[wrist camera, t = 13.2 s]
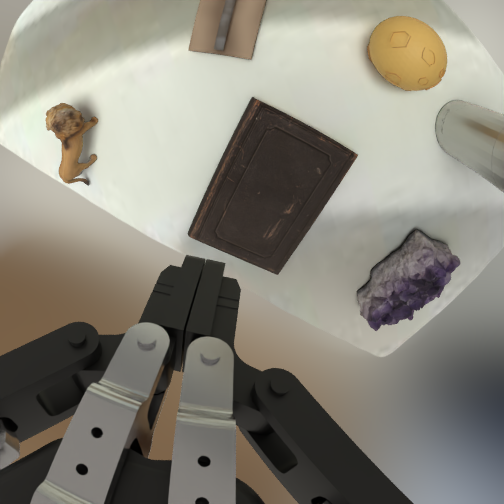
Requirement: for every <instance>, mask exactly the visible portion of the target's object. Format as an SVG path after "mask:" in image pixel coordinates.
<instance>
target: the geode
mask: <svg viewBox="0 0 504 504" xmlns="http://www.w3.org/2000/svg"><path fill="white" fill-rule="evenodd" d="M459 265H460V260H459V258H458V257H457V256H455V255H452V253H451V251H450V249H449V247H448V245H447V244H443V243H442V242H440V241H435V240H432V239H430V238H429V237H428V236H426V235H425V234H424V233H423V232H421V231H419V230H415V231H414V232H413V233H412V234H410V235H409V237H408V238H407V240H406V242H405V243H404V244H403V245H402V246H401V248H400V249H399V250H397V251H395V252H393V253H391V254H390V256H388V257H387V258H386V259H385V260H383V261H382V262H380V263H378V264H377V265H376V266H375V267H374V268H373V269H372V271H371V277H372V278H371V279H370V281H369V282H368V283H367V285H366V286H365V287H363V288H361V289H360V290H358V291H357V296H358V302H359V303H360V308H361V309H360V313H361V314H360V315H361V316H363V317H364V318H365V319H366V320H367V321H368V323H369V325H370V327H371V328H373V329H374V330H375V331H377V330H378V329H379V328H380V326H381V325H385V324H388V325H392V324H397V323H398V322H399V320H403V319H407V318H408V319H409V320H412V319H413V313H414V310H416V311H417V310H420V307H421V308H423V306H424V305H425V304H427V303H429V302H430V301H432V300H434V299H435V297H438V298H439V297H440V294H441V292H442V291H443V289H444V286H445V285H446V284H448V283H449V281H450V280H451V273H452V272H453V271H454V270H455V269H456V267H458V266H459Z"/></svg>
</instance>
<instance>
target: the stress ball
mask: <svg viewBox="0 0 504 504" xmlns="http://www.w3.org/2000/svg"><path fill="white" fill-rule="evenodd" d="M367 50H368V56H369V59H370V60H371V61H372V62H373V64H374V66H375V67H376V69H377V70H378V72H379V73H380V74H381V75H382V76H383V77H384V78H385V79H386V80H387V81H389V82H390V83H392V84H393V85H395V86H397V87H400V88H401V89H403V90H406V91H411V90H414V91H417V90H424V89H425V90H428V89H430V88H432V87H434V86H436V85H437V84H438V83H439V82H440V81H441V78H442V77H443V76H444V74H445V71H446V66H447V54H446V50H445V46H444V44H443V42H442V40H441V39H440V37H439V36H438V34H437V33H436V32H435V31H434V30H433V29H432V28H431V27H430V26H428V25H427V24H426V23H424V22H422V21H420V20H418V19H415V18H411V17H406V16H396V17H392V18H388V19H386V20H384V21H383V22H381V23H380V24H379V25H378V26H377V27H376V28H375V29H374V31H373V33H372V35H371V38H370V42H369V44H368V46H367Z"/></svg>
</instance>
